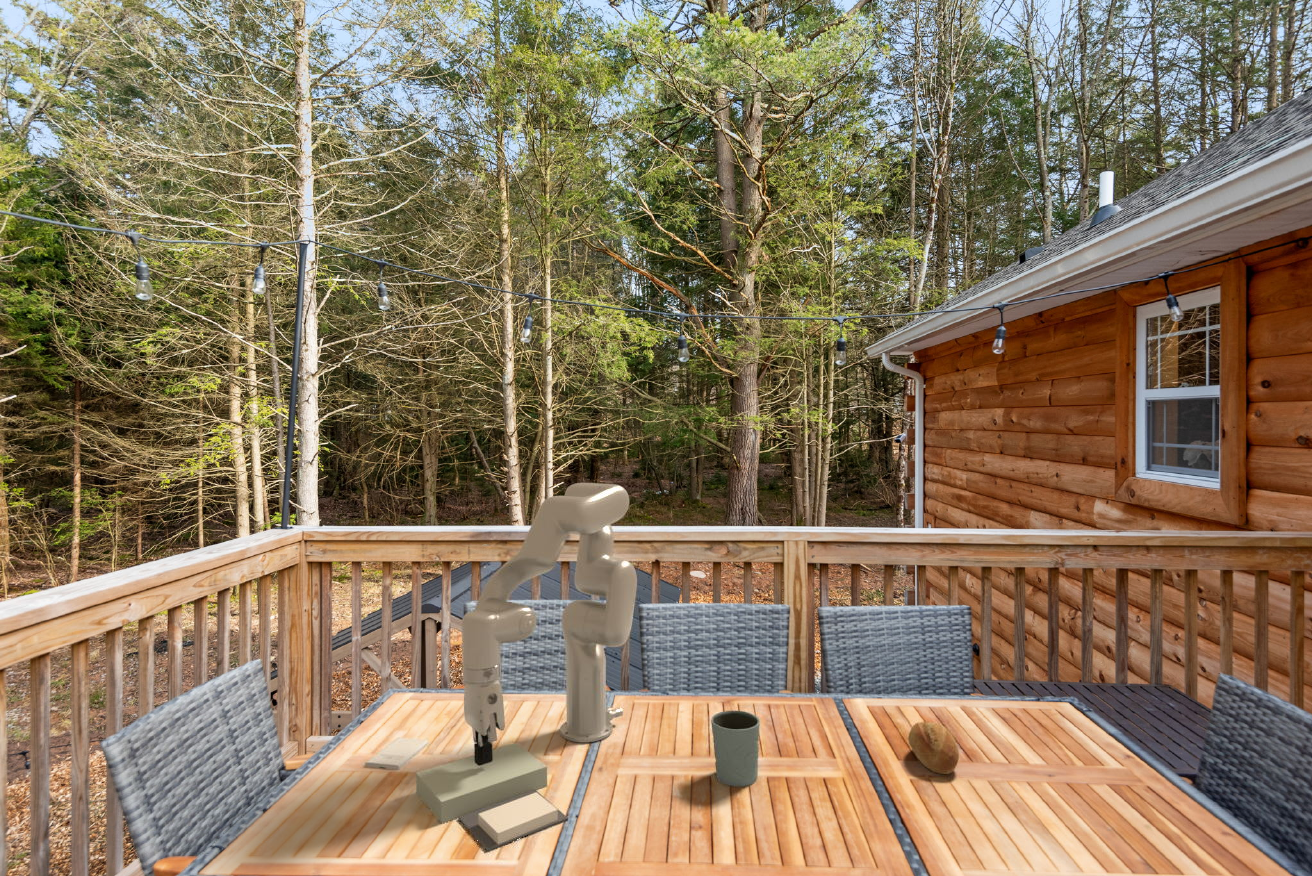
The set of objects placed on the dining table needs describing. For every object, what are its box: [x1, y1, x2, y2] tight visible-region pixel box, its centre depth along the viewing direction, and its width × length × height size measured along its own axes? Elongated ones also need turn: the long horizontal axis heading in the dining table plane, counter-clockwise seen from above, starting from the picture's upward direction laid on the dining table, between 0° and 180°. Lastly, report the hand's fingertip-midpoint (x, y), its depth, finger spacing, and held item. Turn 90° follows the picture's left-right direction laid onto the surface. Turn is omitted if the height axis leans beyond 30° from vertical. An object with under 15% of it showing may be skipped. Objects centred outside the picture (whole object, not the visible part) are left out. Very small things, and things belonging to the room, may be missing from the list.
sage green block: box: [415, 742, 548, 824], centre depth 140 cm, size 22×14×4 cm, turn 128°
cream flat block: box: [478, 791, 559, 845], centre depth 127 cm, size 12×8×2 cm, turn 129°
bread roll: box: [907, 720, 960, 775], centre depth 151 cm, size 10×15×8 cm, turn 175°
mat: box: [457, 790, 569, 853], centre depth 129 cm, size 16×13×1 cm
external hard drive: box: [364, 737, 430, 771], centre depth 156 cm, size 2×8×12 cm
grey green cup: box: [710, 710, 761, 788], centre depth 145 cm, size 10×10×12 cm
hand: (483, 762), depth 140 cm, fingers closed
